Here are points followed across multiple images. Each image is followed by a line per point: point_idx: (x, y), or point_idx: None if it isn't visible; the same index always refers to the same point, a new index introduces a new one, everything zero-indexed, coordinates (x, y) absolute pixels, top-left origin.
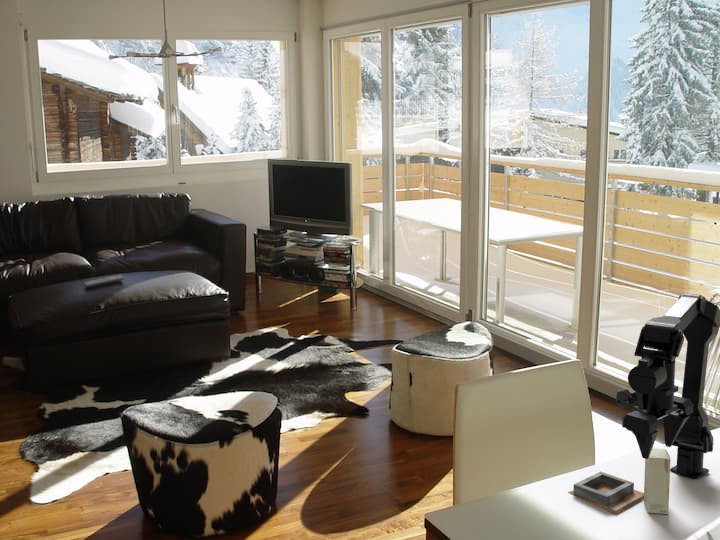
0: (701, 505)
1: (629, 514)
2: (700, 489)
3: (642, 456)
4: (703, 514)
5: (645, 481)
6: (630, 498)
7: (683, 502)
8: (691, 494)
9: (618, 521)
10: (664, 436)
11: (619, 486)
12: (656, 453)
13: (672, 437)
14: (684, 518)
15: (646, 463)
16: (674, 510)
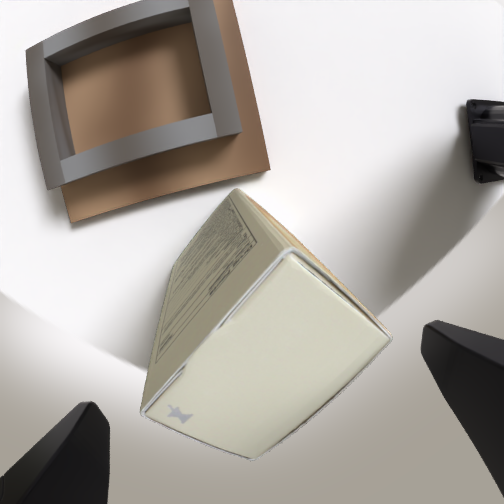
0: (363, 297)
1: (114, 241)
2: (443, 222)
3: (77, 408)
4: None
5: (216, 234)
6: (184, 169)
7: (341, 260)
8: (403, 232)
9: (58, 260)
10: (472, 356)
11: (154, 130)
12: (251, 388)
13: (464, 412)
14: None
15: (211, 281)
16: None
